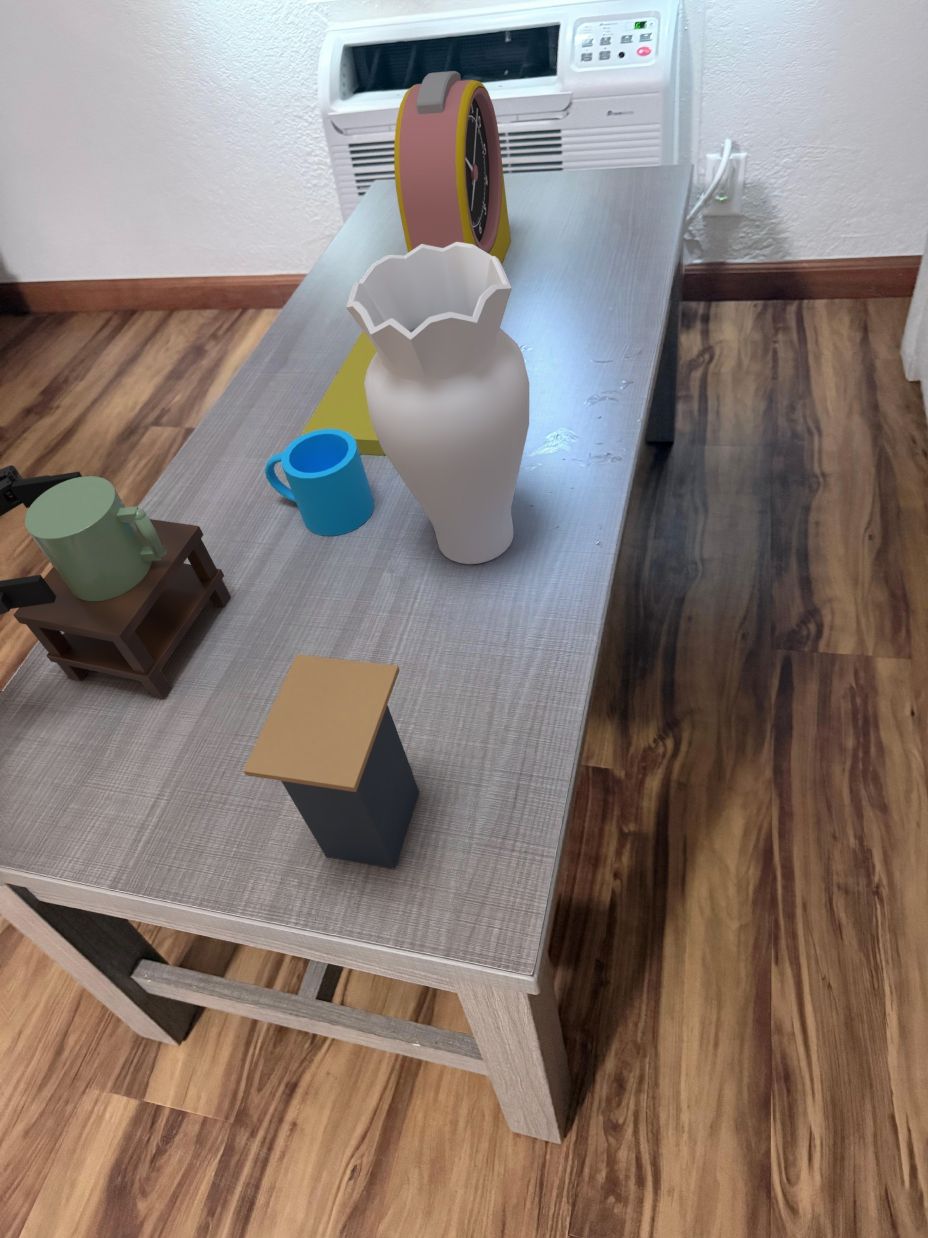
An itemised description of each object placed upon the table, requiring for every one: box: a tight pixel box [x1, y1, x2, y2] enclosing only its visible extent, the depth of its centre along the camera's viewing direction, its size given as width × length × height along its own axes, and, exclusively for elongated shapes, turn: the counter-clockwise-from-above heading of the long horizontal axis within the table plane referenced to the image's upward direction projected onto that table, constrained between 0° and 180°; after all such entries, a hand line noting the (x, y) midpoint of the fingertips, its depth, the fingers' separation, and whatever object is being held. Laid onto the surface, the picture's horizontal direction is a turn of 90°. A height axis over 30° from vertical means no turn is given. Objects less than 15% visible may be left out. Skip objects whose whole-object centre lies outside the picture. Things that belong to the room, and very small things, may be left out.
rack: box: [12, 518, 232, 700], centre depth 87 cm, size 14×12×10 cm
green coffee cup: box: [24, 475, 167, 601], centre depth 80 cm, size 10×8×8 cm
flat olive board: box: [300, 330, 386, 456], centre depth 112 cm, size 12×2×24 cm
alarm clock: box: [393, 70, 512, 266], centre depth 119 cm, size 21×9×26 cm, turn 167°
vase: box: [345, 242, 530, 565], centre depth 82 cm, size 15×15×29 cm
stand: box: [243, 654, 420, 870], centre depth 67 cm, size 10×8×16 cm
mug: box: [264, 429, 375, 537], centre depth 96 cm, size 12×8×8 cm
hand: (67, 533), depth 79 cm, fingers open, 13 cm apart
